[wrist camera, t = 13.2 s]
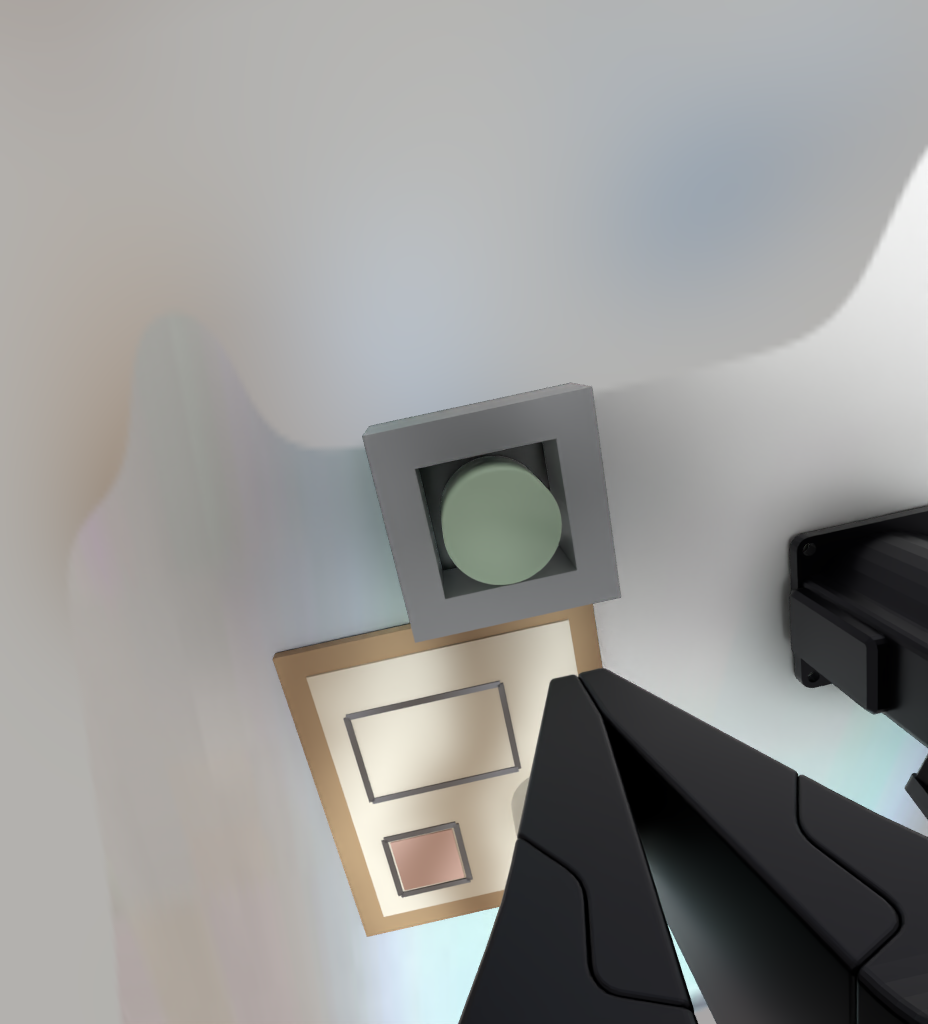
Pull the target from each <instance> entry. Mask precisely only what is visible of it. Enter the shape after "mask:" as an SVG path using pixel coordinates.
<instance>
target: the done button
mask: <svg viewBox="0 0 928 1024" xmlns="http://www.w3.org/2000/svg"><path fill="white" fill-rule="evenodd" d="M440 514H441V523H442V531H443V538H444V544H445V547H446V550H447V552H448V554H449V556H450V558H451V559H452V561H453V562H454V564H455V565H456V566H457V567H458V568H459V569H460V570H461V571H462V572H463V573H465V574H466V575H468V576H469V577H471V578H473V579H475V580H477V581H480V582H483V583H487V584H492V585H508V584H514V583H517V582H521V581H523V580H525V579H528V578H530V577H531V576H533V575H535V574H536V573H537V572H539V571H540V570H541V569H542V568H543V567H544V566H545V565H546V564H547V563H548V562H549V561H550V559H551V558H552V556H553V555H554V553H555V551H556V549H557V547H558V544H559V541H560V537H561V531H562V521H561V514H560V510H559V507H558V504H557V502H556V500H555V498H554V497H553V495H552V494H551V492H550V491H549V490H548V489H547V488H546V487H545V486H544V485H543V483H542V482H541V481H540V480H539V479H538V478H537V477H536V476H535V475H534V474H533V473H532V472H531V471H530V470H529V469H528V468H527V467H526V466H524V465H523V464H521V463H520V462H518V461H516V460H513V459H511V458H507V457H503V456H485V457H481V458H477V459H474V460H472V461H470V462H468V463H466V464H465V465H463V466H462V467H460V468H459V469H458V470H457V471H456V472H455V473H454V474H453V475H452V476H451V478H450V479H449V480H448V482H447V484H446V486H445V488H444V490H443V493H442V497H441V503H440Z"/></svg>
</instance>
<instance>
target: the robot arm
mask: <svg viewBox="0 0 928 1024" xmlns="http://www.w3.org/2000/svg"><path fill="white" fill-rule="evenodd" d="M808 543H809V548H808V549H807V550H806V551H805V552H803V548H804V546H805V545H806V544H808ZM790 567H791V590H792V591H791V594H790V596H789V601H790V623H791V646H792V651H793V652H794V659H795V675H796V678H797V679H798V680H799V681H800V682H801V683H802V684H803V685H804V686H806V687H808V688H815V687H819V686H824V685H828V684H834V685H835V686H836V687H838V688H839V689H840V690H841V691H843V692H844V693H845V694H846V695H848V696H849V697H850V698H851V699H853V700H854V701H855V702H856V703H858V704H859V705H860V706H861V707H863V708H864V709H865V710H867V711H868V712H870V713H872V714H878V713H883V714H884V715H886V716H887V717H888V718H890V719H891V720H892V721H893V722H895V723H896V724H897V725H899V726H900V727H901V728H903V729H904V730H905V731H906V732H908V733H909V734H910V735H912V736H913V737H914V738H915V739H917V740H918V741H919V742H921V743H922V744H923V745H924V746H926V747H927V748H928V506H926V507H921V508H917V509H912V510H908V511H903V512H899V513H894V514H889V515H885V516H880V517H876V518H871V519H867V520H862V521H858V522H853V523H849V524H844V525H839V526H835V527H830V528H826V529H821V530H817V531H812V532H808V533H803V534H800V535H798V536H796V537H795V538H794V539H793V540H792V542H791V544H790ZM811 672H813V673H812V674H811V675H810V676H808V675H809V674H810V673H811ZM905 790H906V791H907V793H908V794H909V795H910V797H911V798H912V799H913V801H914V802H915V803H916V805H917V806H918V807H919V809H920V810H921V811H922V813H923V814H924V815H925V817H926V818H927V819H928V754H927V756H926V758H925V760H924V762H923V763H922V765H921V767H920V769H919V771H918V773H913V774H912V775H911V777H910V779H909V781H908V782H907V784H906V786H905ZM667 923H668V924H667ZM668 925H669V927H670V929H671V931H672V933H673V935H674V937H675V940H676V942H677V944H678V946H679V948H680V950H681V952H682V954H683V956H684V958H685V960H686V962H687V964H688V966H689V968H690V970H691V972H692V974H693V976H694V978H695V980H696V983H697V985H698V987H699V989H700V991H701V993H702V995H703V997H704V999H705V1001H706V1003H707V1005H708V1007H709V1009H710V1011H711V1013H712V1015H713V1017H714V1019H715V1021H716V1023H717V1024H928V837H926V836H924V835H922V834H920V833H918V832H915V831H913V830H911V829H909V828H907V827H905V826H903V825H900V824H898V823H896V822H894V821H892V820H890V819H888V818H885V817H883V816H881V815H879V814H877V813H875V812H873V811H871V810H869V809H867V808H865V807H863V806H862V805H860V804H858V803H856V802H854V801H852V800H850V799H848V798H846V797H844V796H842V795H840V794H838V793H836V792H834V791H832V790H830V789H828V788H827V787H825V786H823V785H821V784H819V783H817V782H815V781H814V780H812V779H810V778H808V777H806V776H804V775H799V776H798V774H797V772H796V771H795V770H793V769H791V768H789V767H787V766H785V765H783V764H782V763H780V762H778V761H776V760H774V759H772V758H770V757H769V756H767V755H765V754H763V753H761V752H759V751H758V750H756V749H754V748H752V747H750V746H748V745H746V744H745V743H743V742H741V741H739V740H737V739H735V738H733V737H732V736H730V735H728V734H726V733H724V732H722V731H720V730H719V729H717V728H715V727H713V726H711V725H709V724H707V723H706V722H704V721H702V720H700V719H698V718H696V717H694V716H693V715H691V714H689V713H687V712H685V711H683V710H681V709H680V708H678V707H676V706H674V705H672V704H670V703H668V702H667V701H665V700H663V699H661V698H659V697H657V696H655V695H654V694H652V693H650V692H648V691H646V690H644V689H642V688H641V687H639V686H637V685H635V684H633V683H631V682H629V681H628V680H626V679H624V678H622V677H620V676H618V675H616V674H615V673H613V672H611V671H609V670H607V669H605V668H599V669H594V670H590V671H586V672H582V673H580V674H579V676H578V677H577V676H576V675H573V674H572V675H568V676H563V677H559V678H554V679H552V680H551V681H550V683H549V688H548V693H547V697H546V702H545V707H544V712H543V716H542V721H541V726H540V730H539V735H538V740H537V745H536V749H535V754H534V759H533V763H532V768H531V773H530V777H529V782H528V787H527V792H526V796H525V801H524V806H523V810H522V815H521V820H520V825H519V829H518V834H517V840H516V842H515V847H514V851H513V856H512V861H511V865H510V869H509V873H508V877H507V881H506V885H505V889H504V893H503V897H502V901H501V904H500V907H499V910H498V913H497V916H496V919H495V922H494V925H493V928H492V931H491V934H490V937H489V940H488V943H487V946H486V949H485V952H484V955H483V957H482V960H481V963H480V966H479V968H478V971H477V974H476V976H475V979H474V982H473V985H472V987H471V990H470V993H469V995H468V998H467V1001H466V1004H465V1006H464V1009H463V1012H462V1015H461V1017H460V1020H459V1023H458V1024H698V1021H697V1020H696V1017H695V1015H694V1008H693V1005H692V1002H691V998H690V995H689V992H688V989H687V986H686V982H685V979H684V976H683V973H682V969H681V966H680V963H679V960H678V957H677V953H676V950H675V947H674V944H673V940H672V937H671V934H670V931H669V928H668Z"/></svg>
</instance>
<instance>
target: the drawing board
mask: <svg viewBox="0 0 928 1024" xmlns="http://www.w3.org/2000/svg"><path fill="white" fill-rule="evenodd" d="M273 662H274V665H275V668H276V670H277V673H278V676H279V679H280V682H281V685H282V688H283V691H284V694H285V697H286V700H287V703H288V706H289V709H290V712H291V715H292V718H293V720H294V723H295V726H296V729H297V732H298V735H299V738H300V741H301V744H302V747H303V750H304V753H305V756H306V759H307V762H308V765H309V768H310V771H311V773H312V776H313V779H314V782H315V785H316V788H317V791H318V794H319V797H320V800H321V803H322V806H323V809H324V812H325V815H326V818H327V821H328V823H329V826H330V829H331V832H332V835H333V838H334V841H335V844H336V847H337V850H338V853H339V856H340V859H341V862H342V865H343V868H344V871H345V873H346V876H347V879H348V882H349V885H350V888H351V891H352V894H353V897H354V900H355V903H356V906H357V909H358V912H359V915H360V918H361V921H362V923H363V926H364V929H365V932H366V935H367V937H369V936H373V935H377V934H382V933H386V932H391V931H395V930H399V929H404V928H408V927H413V926H417V925H421V924H426V923H430V922H435V921H439V920H443V919H448V918H452V917H457V916H461V915H465V914H470V913H474V912H479V911H483V910H487V909H492V908H496V907H500V904H501V901H502V897H503V893H504V889H505V885H506V881H507V877H508V873H509V869H510V865H511V861H512V856H513V851H514V847H515V842H516V840H517V837H516V831H515V826H514V820H513V815H512V808H511V802H512V798H513V795H514V793H515V791H516V789H517V788H518V786H519V785H520V784H521V783H522V782H523V781H525V780H526V779H527V778H529V777H530V773H531V768H532V763H533V759H534V754H535V749H536V745H537V740H538V735H539V730H540V726H541V721H542V716H543V712H544V707H545V702H546V697H547V693H548V688H549V683H550V681H551V680H552V679H554V678H559V677H563V676H568V675H572V674H573V675H576V676H577V677H578V676H579V674H580V673H582V672H586V671H590V670H594V669H599V668H602V662H601V656H600V649H599V642H598V636H597V629H596V623H595V616H594V610H593V604H589V605H585V606H580V607H576V608H571V609H567V610H562V611H557V612H553V613H548V614H544V615H539V616H535V617H530V618H526V619H521V620H517V621H512V622H508V623H503V624H499V625H494V626H489V627H485V628H480V629H476V630H471V631H467V632H462V633H458V634H453V635H449V636H444V637H440V638H435V639H431V640H426V641H421V642H417V643H415V640H414V636H413V633H412V629H411V625H410V624H407V625H402V626H398V627H393V628H389V629H384V630H379V631H375V632H370V633H366V634H361V635H357V636H352V637H348V638H343V639H339V640H334V641H330V642H325V643H320V644H316V645H311V646H307V647H302V648H298V649H293V650H289V651H284V652H280V653H275V655H274V657H273Z"/></svg>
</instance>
